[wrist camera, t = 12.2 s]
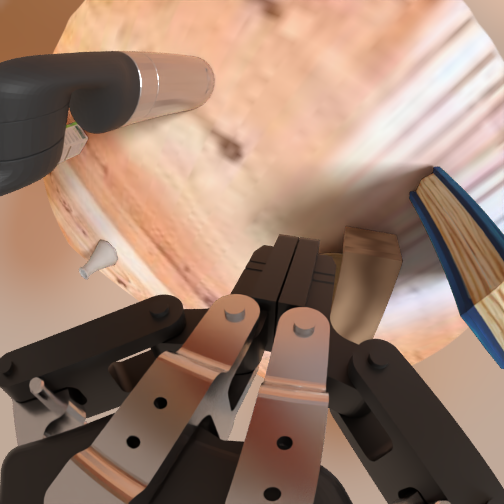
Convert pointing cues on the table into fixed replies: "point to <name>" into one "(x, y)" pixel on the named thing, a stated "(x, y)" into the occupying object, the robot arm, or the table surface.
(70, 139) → the syrup box
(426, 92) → the table surface
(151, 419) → the robot arm
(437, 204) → the book
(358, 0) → the table surface
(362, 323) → the walnut shelf
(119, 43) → the table surface
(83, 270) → the flask
